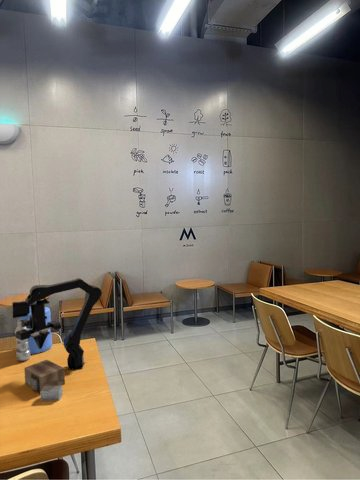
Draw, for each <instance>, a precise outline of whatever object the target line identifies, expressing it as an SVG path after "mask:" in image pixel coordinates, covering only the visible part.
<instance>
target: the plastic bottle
mask: <svg viewBox="0 0 360 480" xmlns="http://www.w3.org/2000/svg"><path fill="white" fill-rule="evenodd" d="M22 320H24V319H22ZM16 325H17V326H16V328H15V330H14V335H15V334H16V332H17V331H19V330H23V329H26V330H29V329H28V328H26V327H22V324H21V320H19V319H18V320H17V323H16ZM15 341H16V353H15V355H16V356H15V357H16V360H17V361H19V362H23V361H27V360H29V359H30V358H31V355H32V354H31V353H30V349H29V343H28V339H25V340H20V339H17V338H15Z"/></svg>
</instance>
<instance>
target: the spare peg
mask: <svg viewBox="0 0 360 480" xmlns="http://www.w3.org/2000/svg"><path fill="white" fill-rule="evenodd" d="M39 395H40V402H57V401H60V400H61V399H62V396H63V385H62V386H44V387H43V389H42V390H41V391H40V393H39Z"/></svg>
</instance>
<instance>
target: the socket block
mask: <svg viewBox="0 0 360 480" xmlns="http://www.w3.org/2000/svg"><path fill="white" fill-rule="evenodd" d="M23 370H24V384H25V385H26V386H28V387H30V388H31V378H32V377H35V378H37V379H38V386H39V389H38V390H35V391H36V392H37V393H39V394H40V391H41V390H42V389H43V387H44V386H62V387H63V386H64V385H65V384H66V379H65V367H63V366H61V365H60V364H57V363H55V362H52V361H51V360H48V359H44V360H42V361H39V362H37V363H34V364H31V365H28V366H26V367H24V368H23ZM31 389H33V388H31ZM33 390H34V389H33Z"/></svg>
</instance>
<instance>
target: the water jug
mask: <svg viewBox="0 0 360 480" xmlns="http://www.w3.org/2000/svg"><path fill="white" fill-rule="evenodd" d="M29 309H30V314H28V315H27V316H25V317H19V318H18V320H22V319H24V320H25V319H27V321H28V320H30V317H31V306H29ZM45 316H47V319H46V325H47V323H48V322H51V321H52V318H51V316H52V315H51V309H50V308H49V307H46V306H45ZM28 329H29V330H32V328H31V329H30V328H28ZM36 331H37V330H36ZM48 332H50V334H48V336H47V338H46V340H45V342H44V344H43V346H42V349H39V348H38V346H37V344H36V341H35V340H34V338H33V337H31V336H30V338H28V343H29V349H30V353H31V354H30V355H34V354H35V355H36V354H40V352H41V353H43V352H46V351H48V350H50V349H51V348H52V346H53V339H52V338H53V337H52V332H51V329H48Z"/></svg>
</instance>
